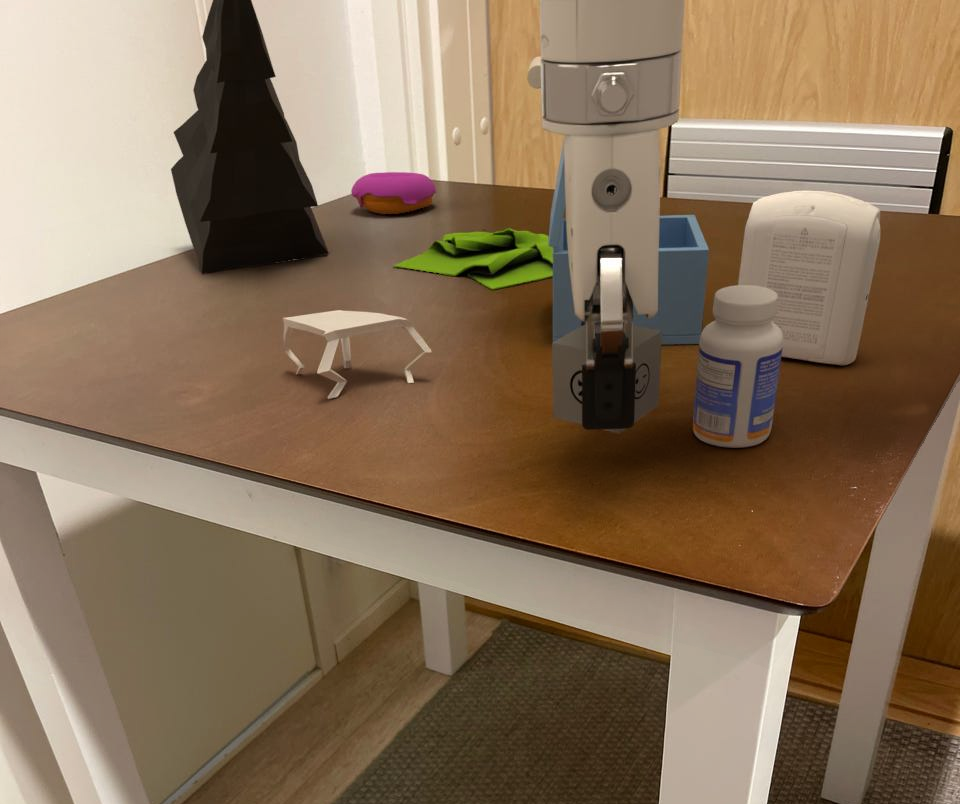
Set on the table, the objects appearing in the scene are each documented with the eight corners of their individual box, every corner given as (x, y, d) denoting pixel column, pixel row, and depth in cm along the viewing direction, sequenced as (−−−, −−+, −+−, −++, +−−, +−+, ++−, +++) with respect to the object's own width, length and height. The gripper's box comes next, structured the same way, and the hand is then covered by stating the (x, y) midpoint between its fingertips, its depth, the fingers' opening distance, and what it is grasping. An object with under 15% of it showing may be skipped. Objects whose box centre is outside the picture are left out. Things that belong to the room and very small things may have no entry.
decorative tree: (203, 298, 111) (163, 10, 78) (173, 197, 115) (123, -116, 82) (328, 279, 115) (339, -3, 82) (295, 182, 119) (293, -123, 86)
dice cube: (619, 433, 61) (621, 356, 58) (553, 417, 64) (551, 343, 61) (658, 405, 64) (661, 330, 61) (593, 391, 67) (594, 318, 64)
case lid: (590, 43, 80) (535, 34, 80) (592, 59, 71) (530, 48, 71) (559, 213, 88) (509, 205, 88) (557, 248, 79) (502, 238, 79)
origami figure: (284, 407, 76) (273, 345, 73) (287, 368, 82) (277, 310, 79) (436, 393, 76) (432, 331, 74) (427, 356, 83) (423, 298, 80)
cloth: (629, 267, 102) (630, 243, 100) (433, 300, 96) (431, 274, 94) (547, 226, 117) (547, 204, 116) (374, 251, 111) (372, 229, 110)
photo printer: (862, 353, 79) (893, 190, 72) (850, 371, 76) (882, 203, 69) (739, 337, 84) (757, 181, 76) (723, 353, 81) (740, 193, 73)
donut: (449, 206, 128) (447, 168, 126) (395, 222, 122) (392, 183, 119) (394, 197, 134) (391, 161, 131) (340, 213, 128) (335, 175, 125)
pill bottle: (758, 416, 70) (777, 278, 65) (779, 448, 66) (801, 304, 60) (684, 420, 70) (695, 283, 65) (700, 452, 66) (714, 308, 60)
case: (687, 301, 92) (694, 214, 87) (700, 344, 83) (709, 249, 78) (554, 304, 93) (554, 218, 88) (552, 346, 84) (552, 253, 79)
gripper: (696, 116, 46) (675, 461, 56) (667, 68, 59) (655, 352, 70) (536, 126, 46) (546, 464, 57) (545, 76, 60) (551, 355, 71)
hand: (606, 400), depth 63 cm, fingers closed on dice cube, 7 cm apart
